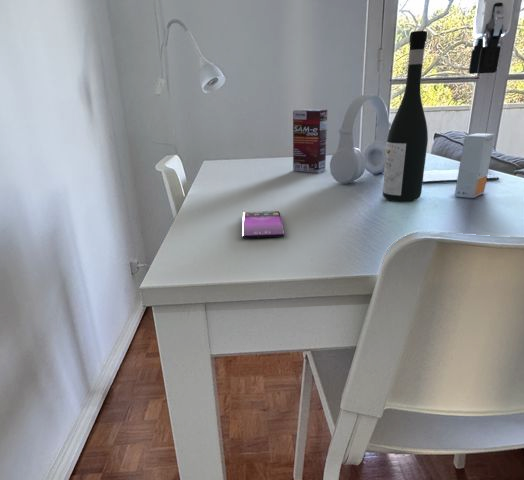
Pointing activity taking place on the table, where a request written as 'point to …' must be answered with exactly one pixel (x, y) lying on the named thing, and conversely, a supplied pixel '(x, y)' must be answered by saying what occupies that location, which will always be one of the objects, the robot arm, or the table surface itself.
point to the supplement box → (309, 140)
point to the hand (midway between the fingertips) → (481, 73)
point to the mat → (446, 176)
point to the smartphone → (262, 224)
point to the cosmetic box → (474, 165)
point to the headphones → (352, 159)
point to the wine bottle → (408, 133)
